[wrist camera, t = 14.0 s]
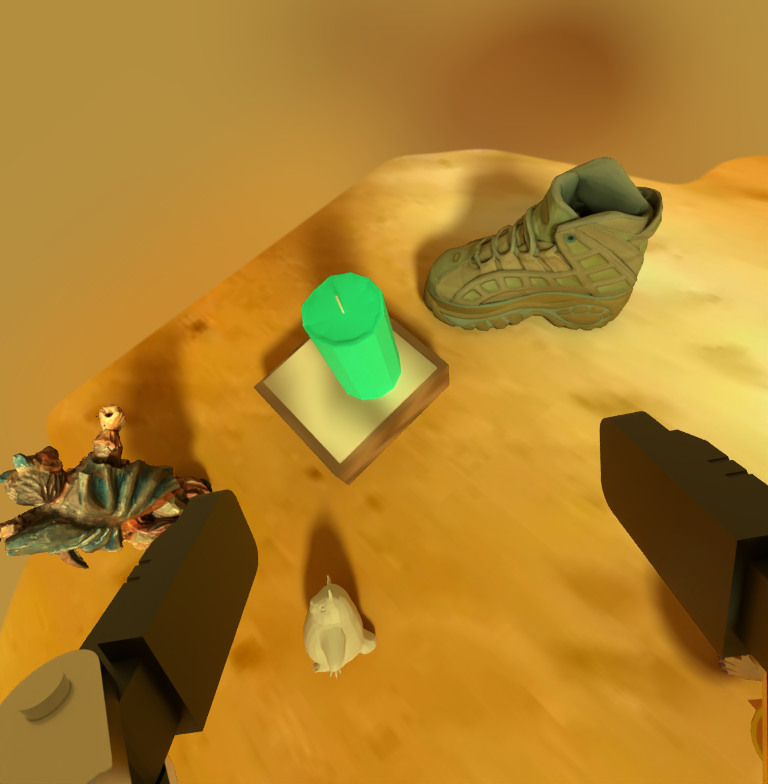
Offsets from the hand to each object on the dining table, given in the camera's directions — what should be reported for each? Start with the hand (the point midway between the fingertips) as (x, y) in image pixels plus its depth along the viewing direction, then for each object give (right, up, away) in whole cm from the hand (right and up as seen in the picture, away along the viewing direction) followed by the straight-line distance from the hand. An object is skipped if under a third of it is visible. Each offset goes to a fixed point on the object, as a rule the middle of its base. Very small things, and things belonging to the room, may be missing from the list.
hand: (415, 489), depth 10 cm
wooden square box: (-3, +2, +35) cm, 36 cm away
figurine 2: (-4, -18, +29) cm, 34 cm away
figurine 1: (-22, -10, +34) cm, 42 cm away
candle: (-2, +4, +31) cm, 31 cm away
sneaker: (+14, +12, +37) cm, 41 cm away
